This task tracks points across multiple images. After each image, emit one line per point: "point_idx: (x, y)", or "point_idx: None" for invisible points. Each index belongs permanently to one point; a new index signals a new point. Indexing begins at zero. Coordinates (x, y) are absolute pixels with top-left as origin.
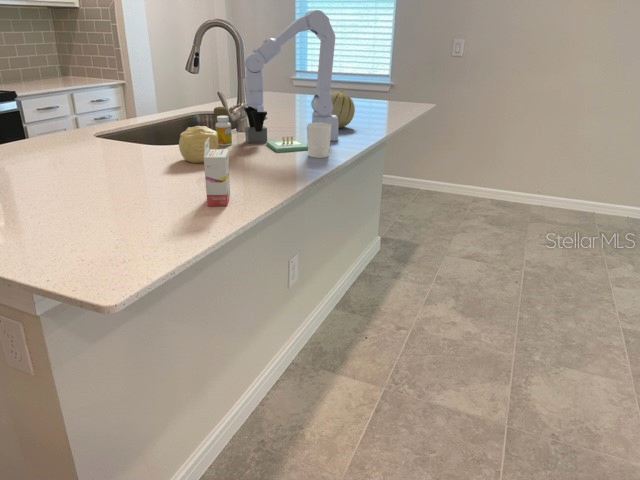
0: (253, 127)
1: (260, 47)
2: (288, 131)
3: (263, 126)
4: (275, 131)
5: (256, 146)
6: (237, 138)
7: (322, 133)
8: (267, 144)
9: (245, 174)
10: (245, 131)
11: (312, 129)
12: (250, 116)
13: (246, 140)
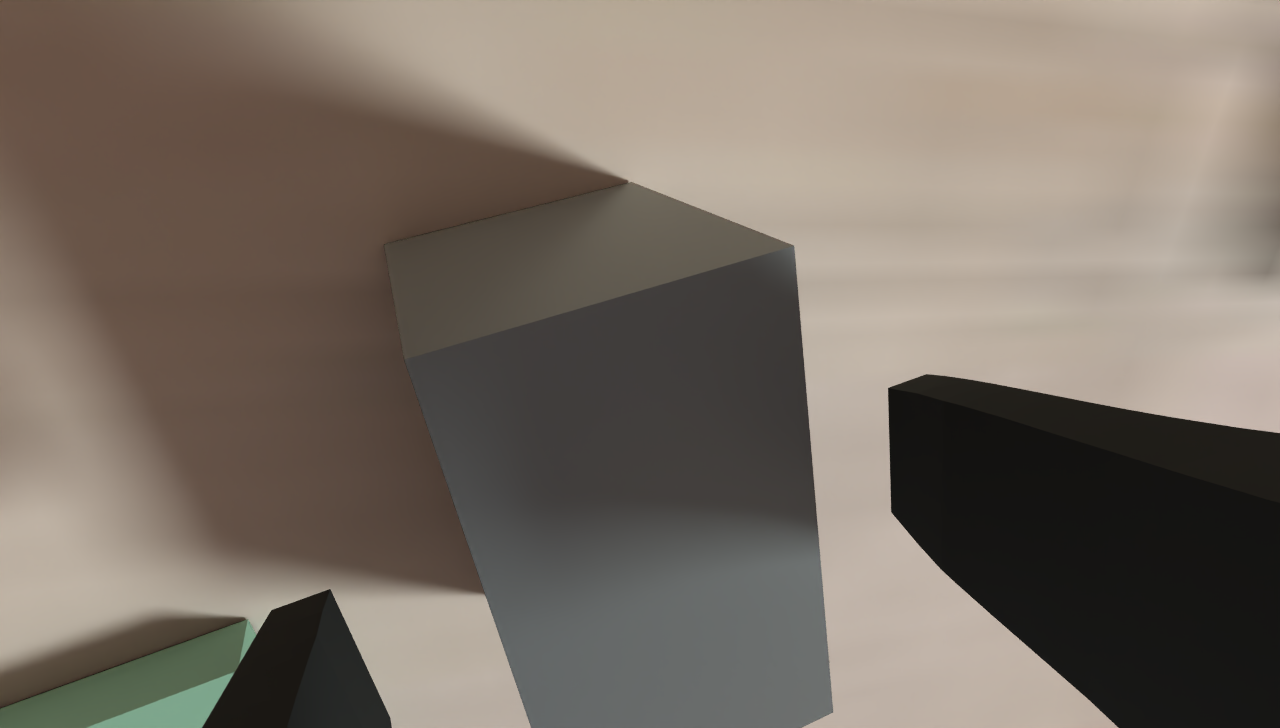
0: (715, 505)
1: None
2: (1094, 724)
3: (803, 713)
4: None
5: (17, 442)
6: (905, 6)
7: None
8: (155, 665)
9: None
10: (710, 226)
11: None
12: (1219, 579)
13: (567, 204)
